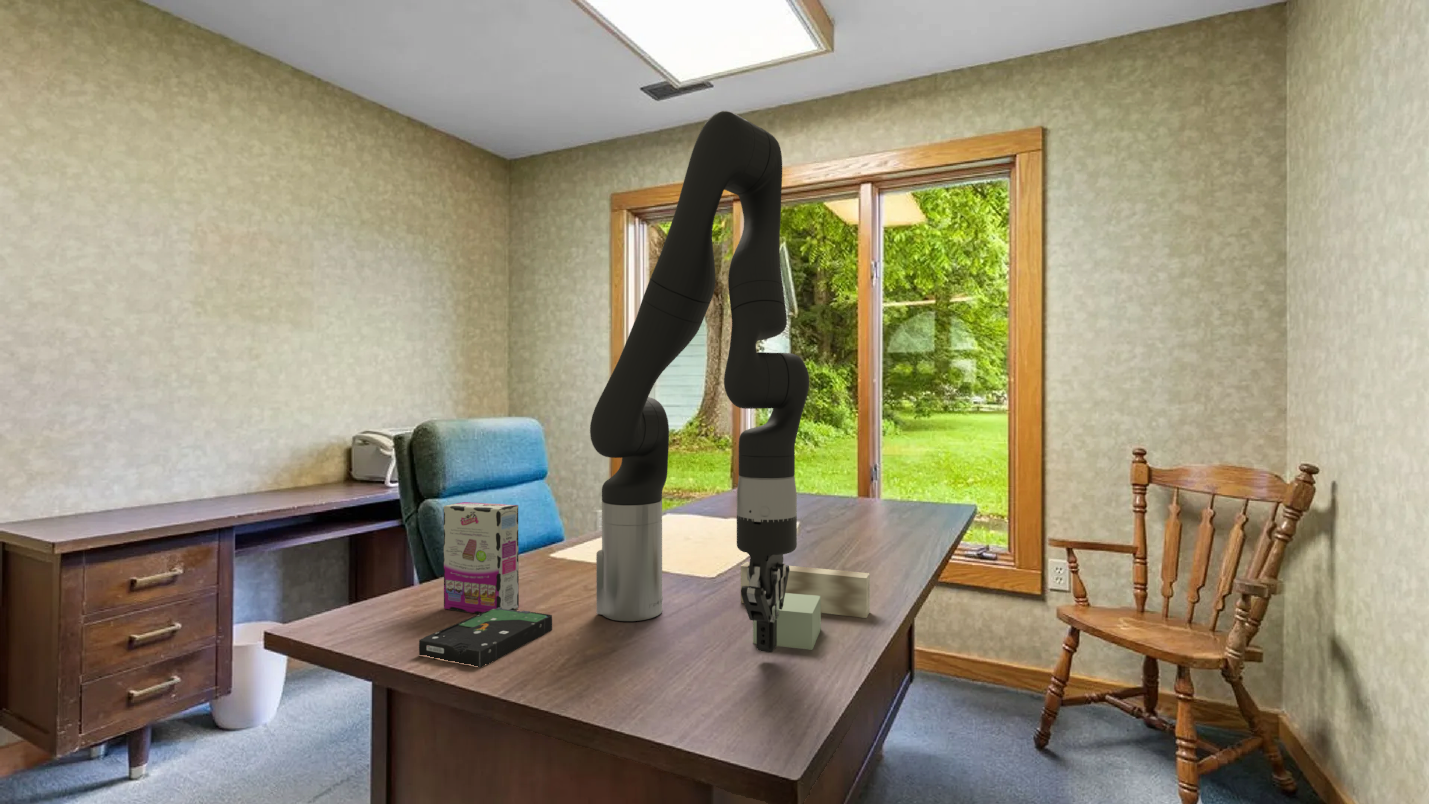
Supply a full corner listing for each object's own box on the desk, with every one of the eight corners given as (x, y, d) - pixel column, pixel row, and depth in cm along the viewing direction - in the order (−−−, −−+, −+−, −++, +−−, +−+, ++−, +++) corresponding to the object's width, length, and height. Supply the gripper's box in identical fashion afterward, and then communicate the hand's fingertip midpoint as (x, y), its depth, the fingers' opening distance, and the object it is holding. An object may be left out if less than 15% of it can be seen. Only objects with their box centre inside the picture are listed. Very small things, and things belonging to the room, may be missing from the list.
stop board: (740, 603, 107) (740, 565, 107) (746, 597, 110) (746, 561, 110) (866, 618, 99) (866, 578, 99) (869, 612, 102) (869, 573, 102)
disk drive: (481, 674, 81) (553, 632, 95) (481, 651, 81) (553, 613, 95) (417, 661, 85) (495, 623, 99) (416, 639, 85) (495, 604, 99)
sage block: (753, 644, 89) (753, 607, 89) (765, 625, 97) (765, 591, 97) (812, 651, 87) (812, 613, 87) (820, 630, 95) (820, 595, 95)
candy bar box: (520, 608, 104) (520, 504, 104) (499, 618, 100) (499, 509, 100) (465, 600, 109) (464, 500, 109) (441, 609, 104) (441, 504, 104)
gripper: (755, 502, 91) (755, 628, 91) (719, 518, 78) (719, 665, 78) (808, 505, 88) (808, 636, 88) (780, 523, 76) (780, 675, 76)
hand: (766, 649), depth 83 cm, fingers closed
